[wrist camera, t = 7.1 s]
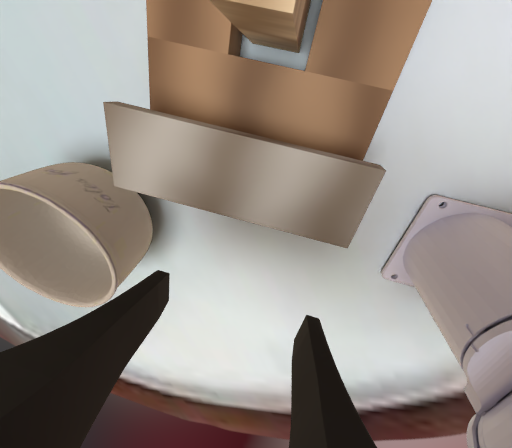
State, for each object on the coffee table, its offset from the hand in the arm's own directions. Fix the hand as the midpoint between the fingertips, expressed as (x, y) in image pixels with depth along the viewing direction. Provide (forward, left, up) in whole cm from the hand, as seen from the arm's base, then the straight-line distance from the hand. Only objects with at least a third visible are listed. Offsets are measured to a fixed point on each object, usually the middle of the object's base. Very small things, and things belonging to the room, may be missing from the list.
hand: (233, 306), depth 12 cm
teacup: (+16, +3, -10) cm, 19 cm away
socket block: (+2, -10, -10) cm, 14 cm away
